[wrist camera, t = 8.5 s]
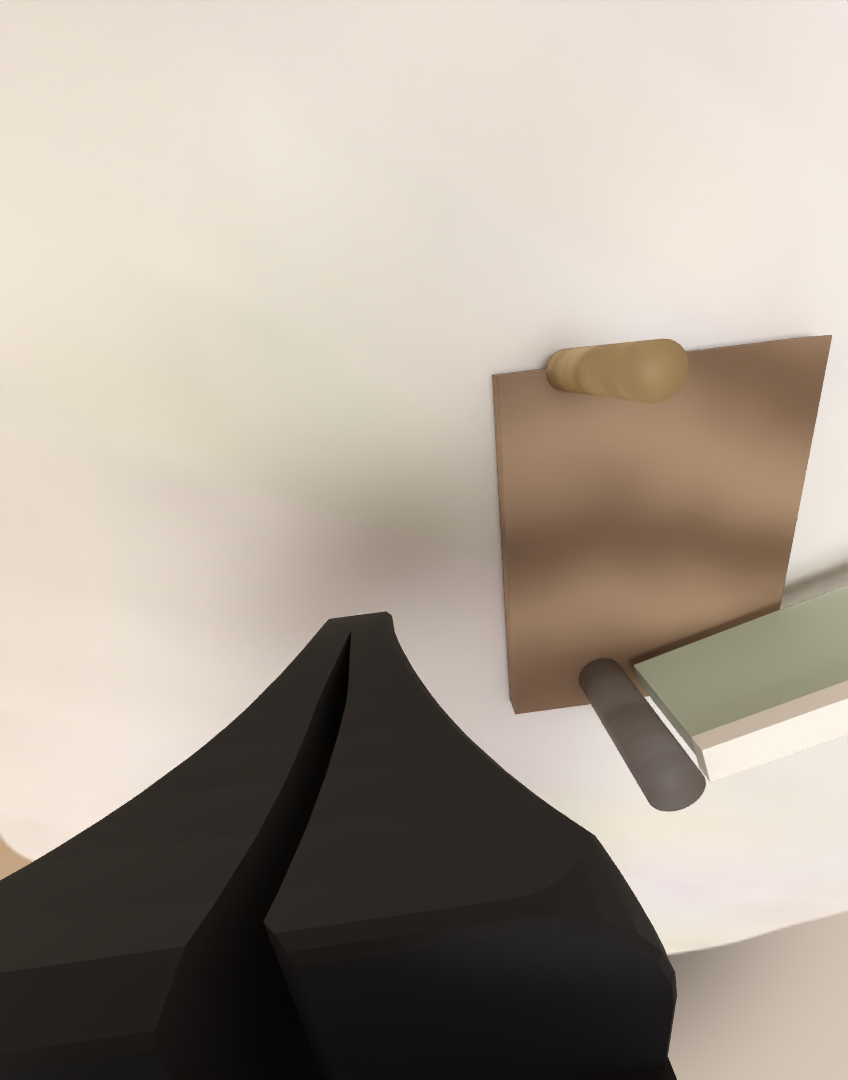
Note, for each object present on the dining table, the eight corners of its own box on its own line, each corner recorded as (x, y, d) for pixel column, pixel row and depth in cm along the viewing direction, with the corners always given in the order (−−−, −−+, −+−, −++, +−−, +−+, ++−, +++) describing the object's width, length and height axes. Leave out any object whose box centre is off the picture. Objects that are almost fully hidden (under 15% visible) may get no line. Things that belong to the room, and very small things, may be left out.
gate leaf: (638, 687, 21) (710, 782, 16) (629, 660, 20) (702, 750, 15) (888, 594, 20) (1042, 665, 15) (887, 563, 19) (1047, 626, 14)
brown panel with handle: (750, 667, 23) (896, 789, 16) (510, 699, 22) (559, 837, 16) (811, 318, 17) (1074, 288, 10) (491, 357, 17) (555, 351, 10)
